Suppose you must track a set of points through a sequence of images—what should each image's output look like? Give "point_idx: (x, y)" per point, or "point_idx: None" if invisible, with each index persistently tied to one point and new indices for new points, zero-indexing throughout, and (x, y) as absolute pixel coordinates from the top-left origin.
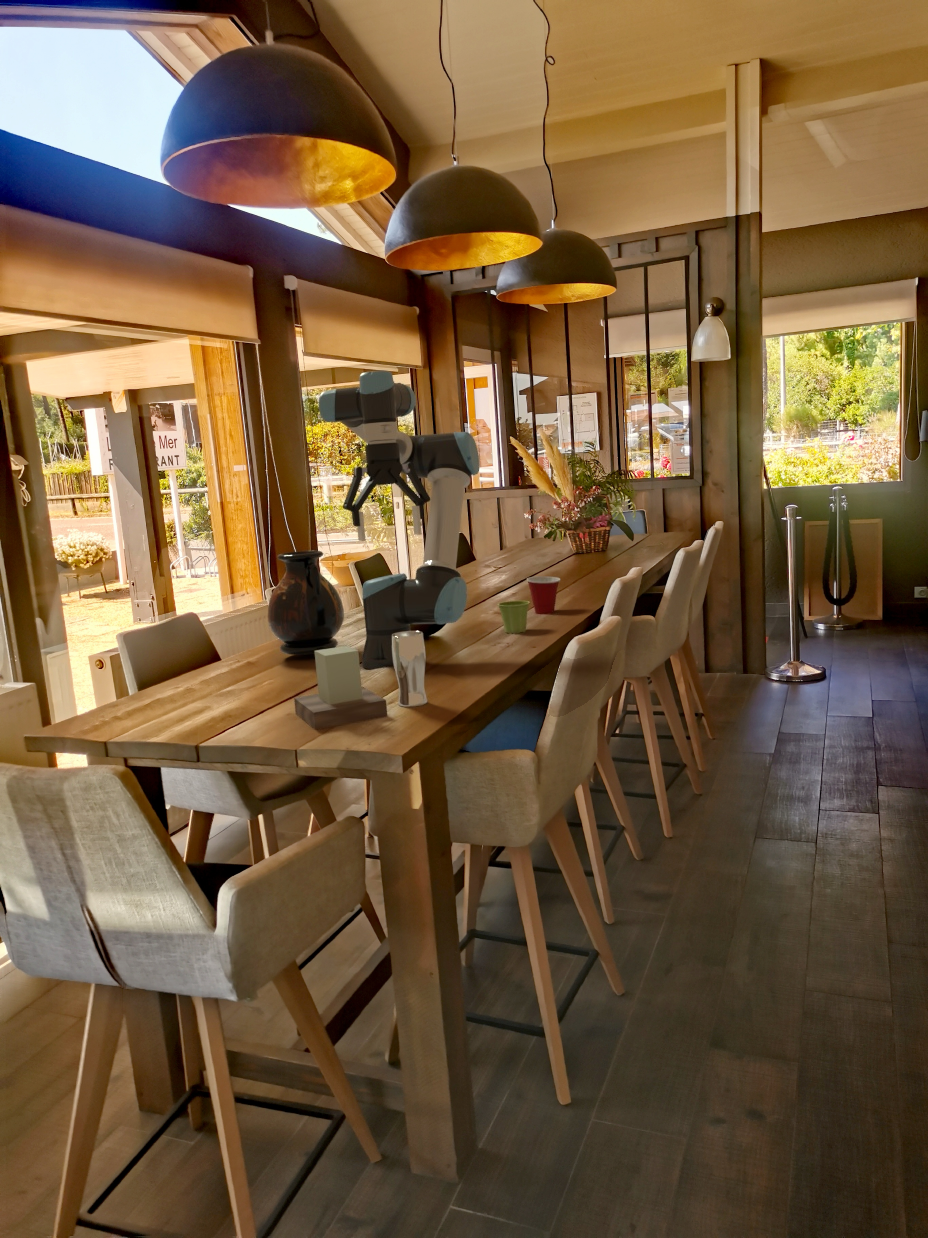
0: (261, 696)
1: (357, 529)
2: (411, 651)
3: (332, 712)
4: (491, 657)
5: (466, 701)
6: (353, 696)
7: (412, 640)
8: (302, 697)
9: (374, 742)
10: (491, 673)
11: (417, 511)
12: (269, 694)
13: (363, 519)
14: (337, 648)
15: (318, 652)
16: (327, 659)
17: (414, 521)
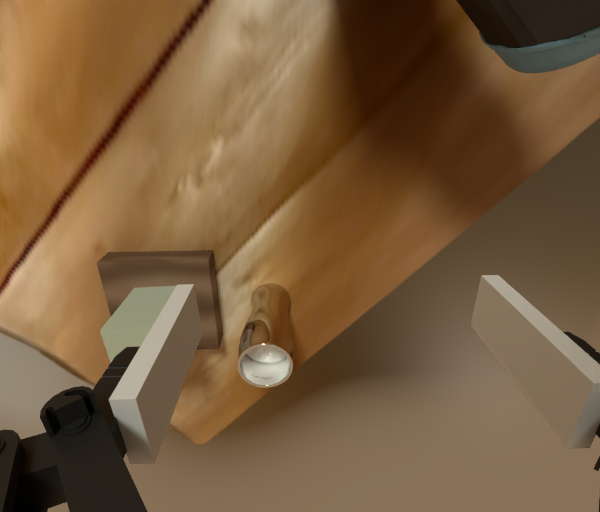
0: (46, 89)
1: (157, 318)
2: (262, 370)
3: None
4: (536, 76)
5: (331, 330)
6: None
7: (265, 382)
8: (109, 269)
9: (185, 408)
10: (447, 208)
11: (546, 415)
12: (62, 83)
13: (170, 415)
14: (142, 338)
15: (106, 348)
16: None
17: (514, 332)
